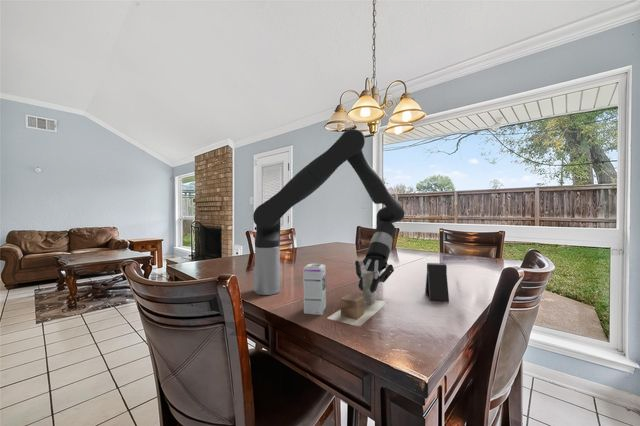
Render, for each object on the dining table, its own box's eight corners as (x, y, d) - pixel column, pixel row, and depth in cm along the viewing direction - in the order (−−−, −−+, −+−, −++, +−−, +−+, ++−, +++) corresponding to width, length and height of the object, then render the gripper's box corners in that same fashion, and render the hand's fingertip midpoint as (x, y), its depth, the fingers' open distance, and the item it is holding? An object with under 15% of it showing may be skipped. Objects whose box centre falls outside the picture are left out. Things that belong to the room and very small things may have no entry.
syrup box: (322, 318, 78) (322, 267, 77) (303, 316, 79) (302, 266, 79) (326, 310, 83) (326, 263, 83) (307, 309, 84) (307, 263, 84)
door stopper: (449, 301, 91) (449, 266, 91) (430, 300, 92) (430, 265, 92) (442, 293, 100) (442, 261, 100) (425, 292, 101) (425, 260, 101)
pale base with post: (326, 321, 75) (326, 282, 75) (359, 299, 94) (359, 268, 93) (359, 329, 70) (359, 288, 70) (387, 304, 88) (387, 271, 88)
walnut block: (340, 316, 77) (340, 298, 77) (348, 310, 81) (348, 293, 81) (356, 319, 74) (356, 301, 74) (364, 313, 78) (364, 296, 78)
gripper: (358, 239, 97) (342, 280, 87) (397, 242, 90) (384, 287, 80) (364, 252, 102) (349, 293, 92) (401, 255, 94) (390, 300, 84)
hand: (366, 290), depth 86 cm, fingers closed on pale base with post, 3 cm apart
